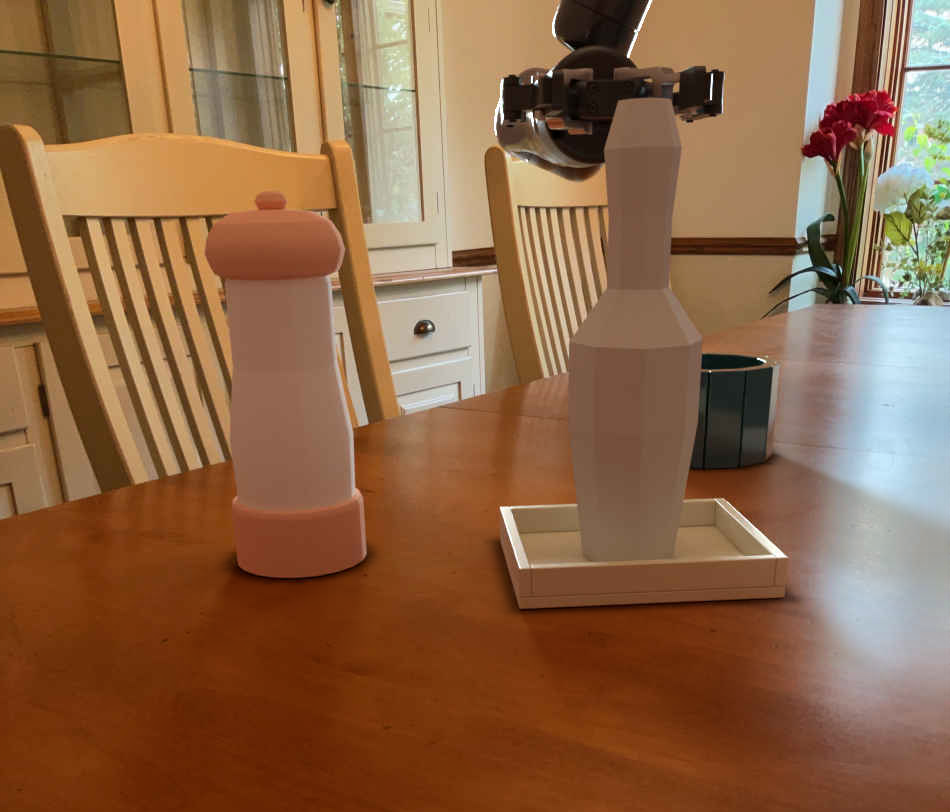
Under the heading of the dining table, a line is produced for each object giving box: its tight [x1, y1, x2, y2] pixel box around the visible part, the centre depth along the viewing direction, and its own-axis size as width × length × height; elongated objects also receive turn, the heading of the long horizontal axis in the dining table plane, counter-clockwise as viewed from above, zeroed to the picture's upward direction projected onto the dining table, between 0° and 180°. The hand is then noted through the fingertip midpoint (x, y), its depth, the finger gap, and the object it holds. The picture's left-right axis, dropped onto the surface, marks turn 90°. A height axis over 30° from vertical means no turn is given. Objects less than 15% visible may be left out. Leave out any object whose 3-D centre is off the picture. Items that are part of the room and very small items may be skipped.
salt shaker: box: [204, 190, 368, 579], centre depth 56 cm, size 7×7×19 cm
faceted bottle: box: [567, 98, 704, 562], centre depth 52 cm, size 6×6×22 cm
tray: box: [499, 497, 789, 610], centre depth 56 cm, size 13×11×2 cm
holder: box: [689, 351, 781, 470], centre depth 80 cm, size 10×10×7 cm
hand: (629, 87), depth 62 cm, fingers open, 8 cm apart
